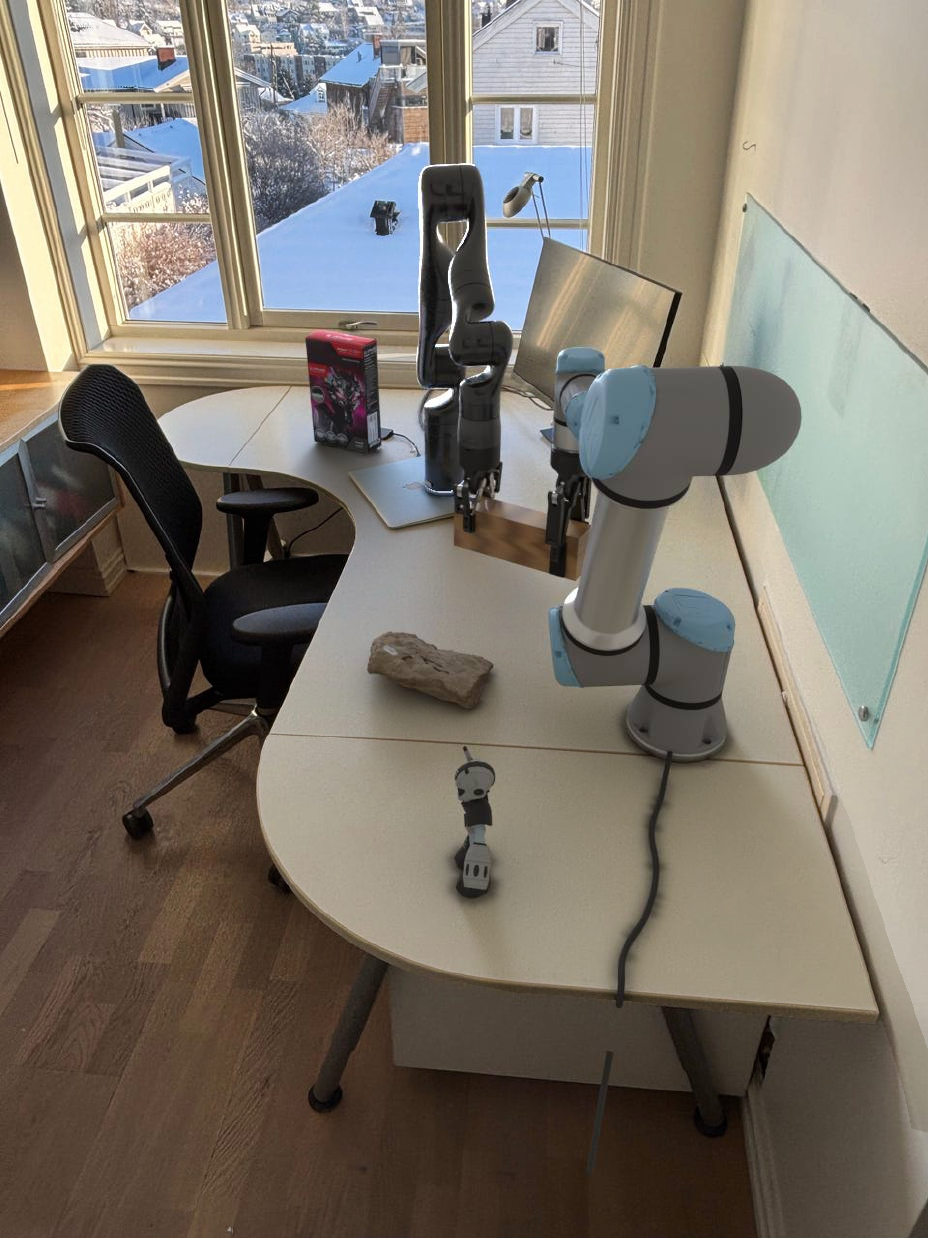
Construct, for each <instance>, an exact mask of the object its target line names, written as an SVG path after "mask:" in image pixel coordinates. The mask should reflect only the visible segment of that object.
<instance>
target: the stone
mask: <svg viewBox="0 0 928 1238" xmlns="http://www.w3.org/2000/svg"><path fill="white" fill-rule="evenodd" d="M368 658H369V659H368V663H367V669H366V671H367V673H368V674H369V675H381V676H384V677H385V678H386V679H387V681H388V682H390V683H392V684H397V685H399V684H400V685H401V686H402V687H403V688H404V687H405V688H408V689H415V690H417V691H419V692H422V693H426V695H429V696H432V697H435V698H436V699H438V700H441V701H443V702H450V703H456V704H457V705H459V706H460V707H462V708H465V709H468V710H470V709H473V708H475V707H476V706H477V704H478V702H479V700H480V699H481V696H482V688H483V687H484V685H485V683H486V682H487V681H486V680H487V678H488V677H489V676H490V672H491V670H493V668H494V667H495V664H493V662H491V661H490V660H488V659H487V658H485V657H483V656H482V655H481V656H480V655H477V654H470V653H463V652H457V651H454V650H452V649H441V648H438V647H437V646H436V645H435V644H433V643H428V642H426V641H425V640H424V639H422V638H420V637H419V636H418V635H417V634H416V633H409V632H404V631H402V632H397V631H395V632H393V631H386V632H385V633H382V634H380V635H379V636H377V637H376V638H374V639H373V640H372V643H371V646H370V655H369V657H368Z"/></svg>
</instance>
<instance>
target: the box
mask: <svg viewBox="0 0 928 1238" xmlns="http://www.w3.org/2000/svg"><path fill="white" fill-rule="evenodd" d="M469 496H470V497H474V498H475V497H476V495H473V494H469ZM471 505H472V502H471V501H470V508H471ZM546 524H547V512H544V511H540V510H536V509H532V508H529V507H525V506H521V505H517V504H514V503H509V502H506V501H503V500H498V499H496V498H494V499H491V498H487V497H483V496H481V501H480V503H478V504H477V507H476V511H475V532H473V533H468V532H465V531H463V515H461V514H456V513H455V504H454V503H453V546H454V547H457V548H461V549H464V550H468V551H470V552H474V553H478V554H482V555H484V556H489V557H491V558H495V559H498V560H502V561H505V562H508V563H512V564H515V565H519V566H522V567H525V568H528V569H532V570H535V571H539V572H543V573H546V574H549V565H550V551H551V545H547V544H545V535H546ZM590 527H591V523H589V524H586V523H582V522H578V521H575V520H571V519H569V524H568V529H567V535H566V540H565V543H567V553H566V566H565V576H564V577H563V578H562V579H566V580H570V581H573V582H576V581H577V580H578V579H580V576H581V571H582V567H583V562H584V557H585V552H586V547H587V542H588V537H589V532H590Z"/></svg>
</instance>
